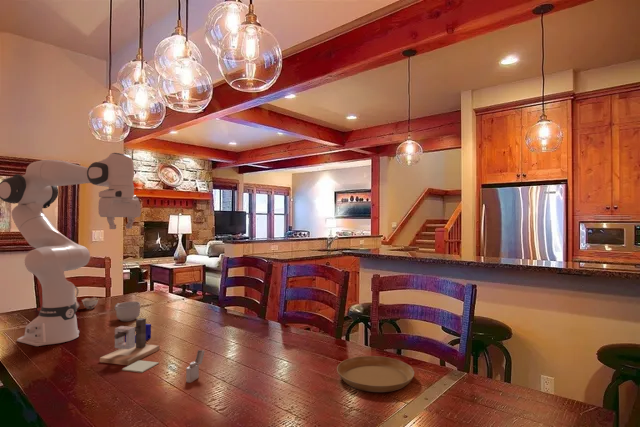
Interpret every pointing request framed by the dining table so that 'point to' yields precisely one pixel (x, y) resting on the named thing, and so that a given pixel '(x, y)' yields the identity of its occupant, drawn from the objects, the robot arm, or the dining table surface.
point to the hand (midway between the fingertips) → (121, 228)
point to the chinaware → (86, 301)
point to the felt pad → (140, 366)
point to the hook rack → (134, 353)
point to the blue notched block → (148, 332)
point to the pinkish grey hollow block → (129, 337)
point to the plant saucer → (375, 373)
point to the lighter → (194, 367)
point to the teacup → (127, 310)
